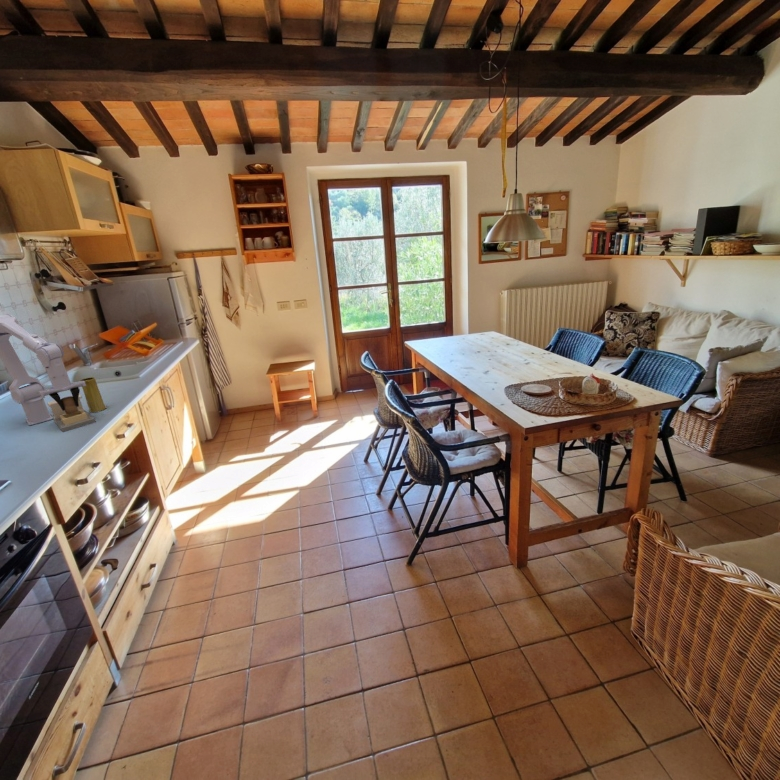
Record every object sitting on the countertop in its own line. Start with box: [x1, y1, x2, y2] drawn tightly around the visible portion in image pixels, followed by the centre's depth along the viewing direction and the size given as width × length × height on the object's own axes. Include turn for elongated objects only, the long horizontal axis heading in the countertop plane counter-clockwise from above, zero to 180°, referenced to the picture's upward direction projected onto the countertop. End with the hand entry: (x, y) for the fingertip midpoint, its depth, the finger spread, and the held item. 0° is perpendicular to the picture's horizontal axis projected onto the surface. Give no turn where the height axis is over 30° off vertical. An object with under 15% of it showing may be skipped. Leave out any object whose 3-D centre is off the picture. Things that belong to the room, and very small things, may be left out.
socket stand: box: [46, 394, 97, 433], centre depth 166 cm, size 16×11×9 cm
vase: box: [79, 376, 107, 413], centre depth 177 cm, size 6×6×14 cm
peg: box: [60, 395, 78, 414], centre depth 163 cm, size 4×4×6 cm
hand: (70, 408), depth 164 cm, fingers closed on peg, 4 cm apart
